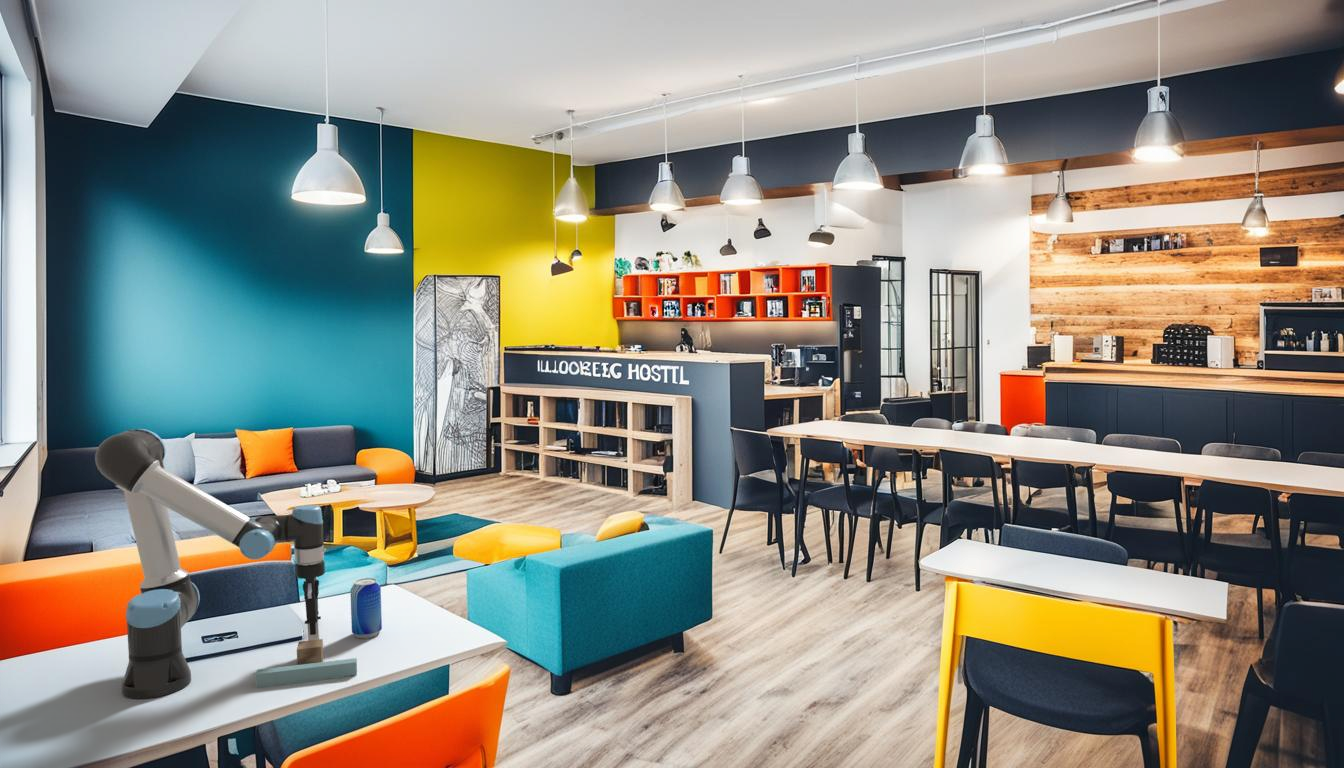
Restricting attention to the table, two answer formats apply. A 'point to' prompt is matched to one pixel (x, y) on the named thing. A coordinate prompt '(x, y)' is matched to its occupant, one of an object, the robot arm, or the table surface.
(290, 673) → the board
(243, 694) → the table surface
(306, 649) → the block
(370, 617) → the beer can
